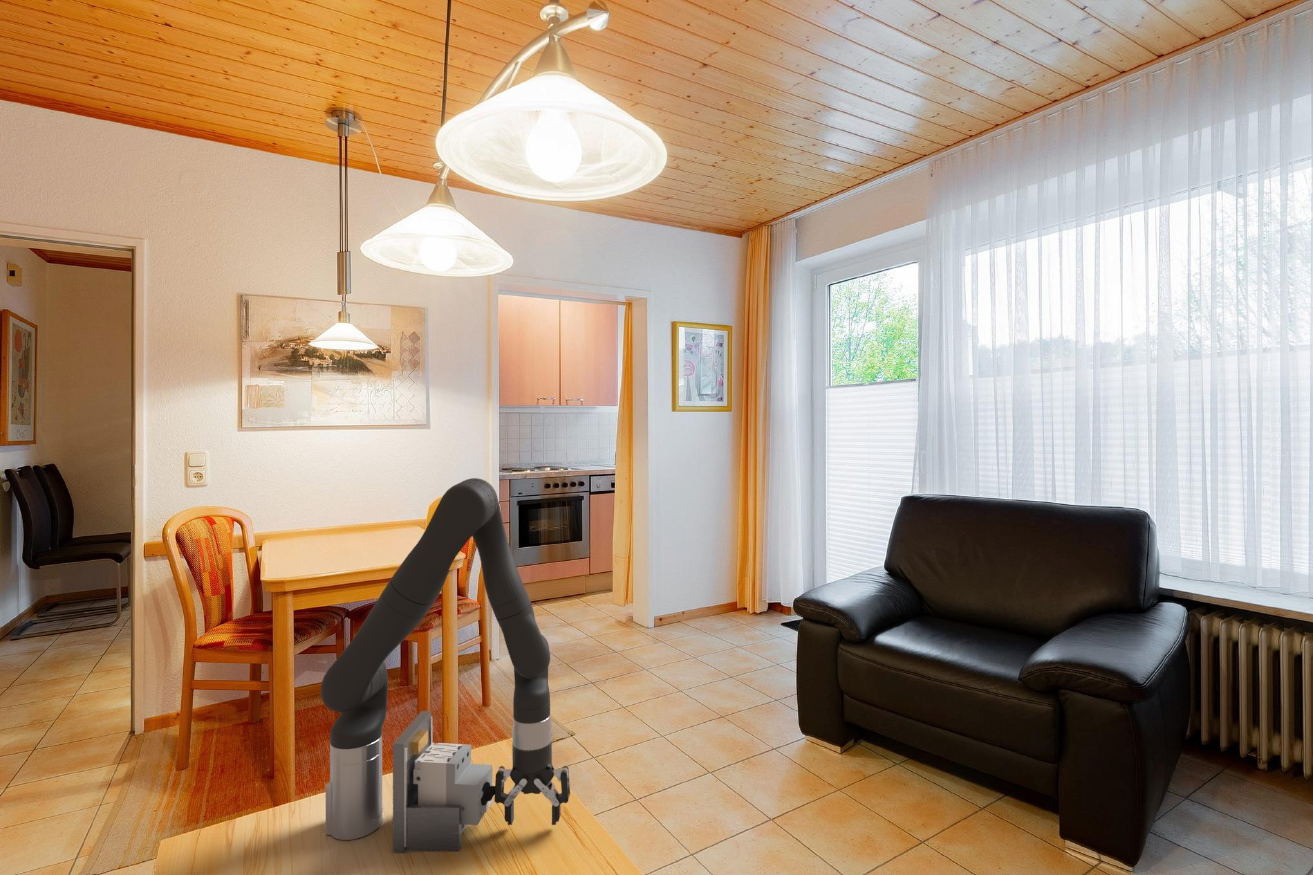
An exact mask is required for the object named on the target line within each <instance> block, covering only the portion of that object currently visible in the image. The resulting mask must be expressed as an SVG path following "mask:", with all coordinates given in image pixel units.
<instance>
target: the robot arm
mask: <svg viewBox="0 0 1313 875" xmlns="http://www.w3.org/2000/svg"><path fill="white" fill-rule="evenodd" d="M500 507H501V506H500V502H499V498H498V495H497V492H496V489H495V488H494V487H493V485H492V484H490V483H489V482H488V481H486V480H485V479H482V478H477V477H476V478H475V477H471V478H468V479H465V480H462V481H461V482H457V484H454V485H453V486H450V488H448V489H447V490H446V491H445V493H444V494H443V495H442V497H441V498H440V500H439V503H438V504H437V507H436V508H435V511H434V512H433V514H432V516H431V518H430V521H429V522H428V524H427V526H426V528H425V530H424V532H423V533H422V536H421V538H420V539H419V540H418V541H417V543H416V545H414V547H413V548H412V549H411V551H410V552H409V553H408V555H407V556H406V557H405V558H404V560H403V561H402V562H401V564H400V565H399V566H398V568H397V569H396V571H395V572H394V574H393V575H392V576H391V578H390V579H389V581H388V583H387V585H386V586H385V587H384V589H383V591H382V592H381V593H380V595H379V597H378V599H377V600H376V602H375V603H374V605H373V607H372V608H371V610H370V611H369V613H368V615H367V616H366V617H365V620H364V621H363V623H362V624H361V625H360V628H359V630H358V631H357V633H356V634H355V636H354V637H353V639H352V640H351V641H350V642H349V644H348V645H347V646H346V648H345V649H344V650H343V652H341V654H340V655H339V656H338V657H337V659H336V660H335V661H334V662H333V663H332V665H331V666H330V667H329V668H328V669H327V670H326V673H324V676H323V678H322V681H321V686H320V696H321V700H322V702H323V704H324V706H325V707H326V708H327V709H329V710H330V711H333V712H336V713H339V715H338V716H337V718H336V720H335V722H333V724H332V726H331V729H330V733H329V743H330V746H329V749H330V750H329V752H330V754H329V756H330V759H329V763H330V764H329V766H330V767H329V771H330V774H329V778H330V779H329V781H328V782H327V783H326V784H325V836H332V837H333V839H337V840H341V841H349V840H356V839H359V838H363V837H365V836H368V835H370V834H372V833H373V832H375V831H376V830H378V828H379V827H380V826H381V825H382V823H383V726H384V723H385V720H386V718H387V712H388V711H387V710H388V709H387V708H388V692H389V691H388V688H389V685H388V684H389V682H388V681H389V678H388V677H389V676H388V670H387V666H386V662H385V660H386V659H387V658H388V657H389V656H390V654H391V653H392V652H393V651H395V649H396V648H398V646H400V644H401V643H402V642H403V641H404V640H405V639H406V638H408V636H409V635H410V634H411V633H412V632H413V631H414V630H415V629H416V628H417V627H418V625H419V624H420V623H421V622H422V621H423V620H424V618H426V616H427V614H428V612H429V611H430V610H431V608H432V606H433V605H434V604H435V601H437V599H438V597H439V596H440V594H441V591H442V589H443V587H444V585H445V583H446V580H447V577H448V574H449V573H450V572H449V571H450V569H451V566H452V564H453V562H454V561H455V560H456V558H457V556H458V555H459V553H460V552H461V550H462V549H463V548H464V546H465V545H466V544H467V543H468V541H469V540H470V539H471V538H472V539H473V541H474V544H475V546H476V548H477V552H478V555H479V560H480V564H481V571H482V578H483V583H484V589H485V592H486V596H487V599H488V602H489V604H490V606H491V609H492V611H493V614H494V617H495V619H496V621H497V624H498V625H499V627H500V630H501V632H502V635H503V638H504V642H505V646H506V649H507V652H508V656H509V658H510V661H511V664H512V666H513V675H514V676H513V677H514V678H513V679H514V691H513V692H514V693H513V702H512V704H513V709H512V712H513V715H512V716H513V717H512V718H513V720H512V721H513V722H512V729H511V740H512V741H511V742H512V743H511V744H512V752H511V753H512V755H511V756H512V758H511V759H512V767H511V768H506V767H505V766H504V765H500V766H499V767H498V769H497V771H496V773H495V780H494V781H495V782H494V786H495V795H494V803H495V804H502V805H503V806H504V807H503V808H504V821H505V822H506V823H507V826H512V825H513V823H514V820H515V799H516V798H517V797H518V795H519V794H520V793H522V794H523V795H530V794H534V795H540V793H542V794H543V795H544V797H545V798H546V799H548V800H549V801H550V802H551V804H552V806H551V826H556V825H557V822H559V821H560V818H561V813H562V812H561V804H563V803H564V804H567V803H569V800H570V796H571V786H570V771H569V770H570V769H569V766H567V765H564V766H562V768H555V767H554V766H553V749H552V748H553V746H552V745H553V739H552V738H553V730H552V729H553V728H552V719H551V695H550V693H551V692H550V687H549V665H550V662H551V652H550V645H549V642H548V640H547V638H546V637H545V636H544V635H543V634H542V633H541V630H540V628H539V626H538V624H537V621H536V617H535V612H534V608H533V605H532V602H531V600H530V597H529V595H528V592H527V589H526V588H525V585H524V583H523V579H522V578H521V576H520V573H519V570H518V567H517V565H516V562H515V558H514V556H513V553H512V551H511V547H510V543H509V539H508V536H507V533H506V529H505V525H504V521H503V515H502V512H501V508H500ZM509 777H510V779H511V780H512V782H513V783H514V785H513V786H512V787H511V789H510V790H509V792H508V793H506V792H505V782H507V780H508V778H509ZM554 777H555V778H556V779H557V781H558V783H560V788H561V793H560V792H559V791H558V789H557V788H556V786H555V783H554V782H553V781H552V780H553V779H554Z"/></svg>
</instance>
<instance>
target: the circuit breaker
mask: <svg viewBox="0 0 1313 875" xmlns="http://www.w3.org/2000/svg"><path fill="white" fill-rule="evenodd" d="M414 764H415V769H414V772H413V784H418V805H461V835H462V833H463V832H464V831H465V829H466V828H467V827H468V826H478V825H479V823H480V822H481V821H482V819H483V817H484V815H485V814H486V812H487V811H488V810H489V808H490V806H491V805H492V804H493V797H495V785H493V764H484V763H472V745H471V744H468V743H467V744H464V743H447V742H437V743H435V742H432V744H431V745H430V746H429V747H428V748H427V749H426V750H425V753H423V754H422V755H421V756H420V757H419V758H418V759H417V760H416V761H415V763H414ZM417 777H418V778H417Z"/></svg>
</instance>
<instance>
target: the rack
mask: <svg viewBox="0 0 1313 875" xmlns="http://www.w3.org/2000/svg"><path fill="white" fill-rule="evenodd" d="M432 743H433V716H432V710H421V711H420V712H419V713H418V714H417V715H416V717H414V719H413V720H412V721H411V723H410V724H409V725H408V726H407V727H406V728H405V729H404V730H403V731H402V733H401V734H400V735H399V736H398V737H397V739H396V740H395V741H394V742H393V743H392V854H405V852H460V850H461V849H462V834H461V805H418V784H413V772H414V769H415V764H414V763H415V761H416V760H417V759H418V758H419V757H420V756H421V755H422V754H423V753H425V750H426V749H427V748H428V747H429V746H430V745H431V744H432ZM417 778H418V777H417Z"/></svg>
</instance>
